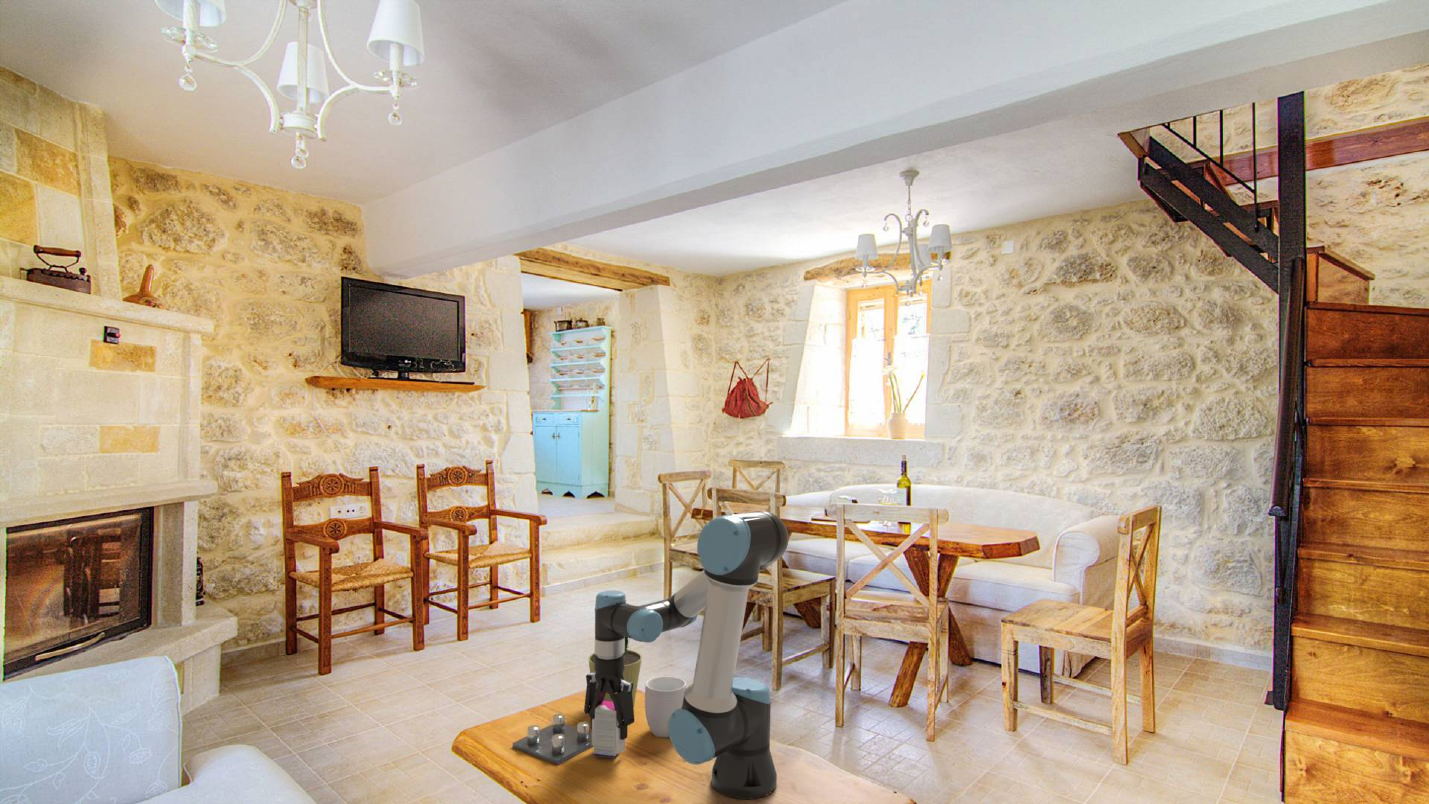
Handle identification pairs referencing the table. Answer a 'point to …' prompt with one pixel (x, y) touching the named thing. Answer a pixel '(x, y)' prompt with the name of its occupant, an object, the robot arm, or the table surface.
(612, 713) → the supplement box
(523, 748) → the chassis
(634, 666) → the potted cactus
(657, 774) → the table surface
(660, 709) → the mug
